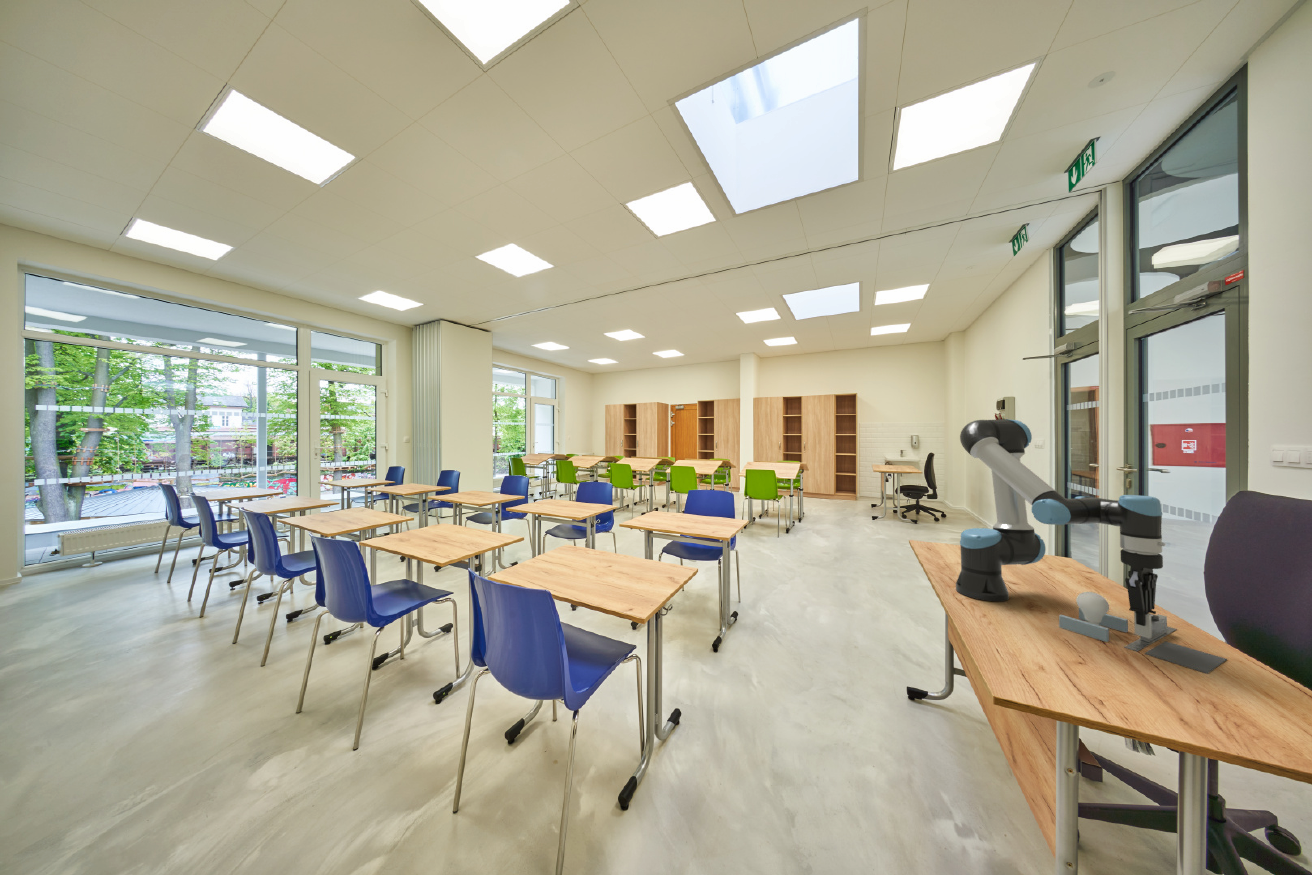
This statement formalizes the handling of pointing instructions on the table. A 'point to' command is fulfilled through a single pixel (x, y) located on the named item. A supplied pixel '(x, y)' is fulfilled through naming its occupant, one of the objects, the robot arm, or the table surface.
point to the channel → (1093, 625)
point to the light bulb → (1092, 606)
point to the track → (1142, 644)
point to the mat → (1186, 657)
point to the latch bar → (1157, 627)
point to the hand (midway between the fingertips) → (1143, 635)
